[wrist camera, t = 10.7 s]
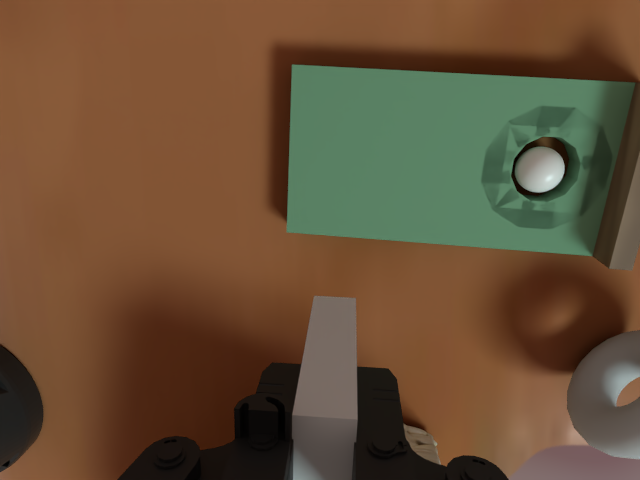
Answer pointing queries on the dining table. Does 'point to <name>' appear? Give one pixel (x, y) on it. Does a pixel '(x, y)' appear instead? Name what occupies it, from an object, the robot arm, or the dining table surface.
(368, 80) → the mat
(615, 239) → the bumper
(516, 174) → the ball
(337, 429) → the robot arm
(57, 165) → the dining table surface
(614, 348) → the donut
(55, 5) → the dining table surface
